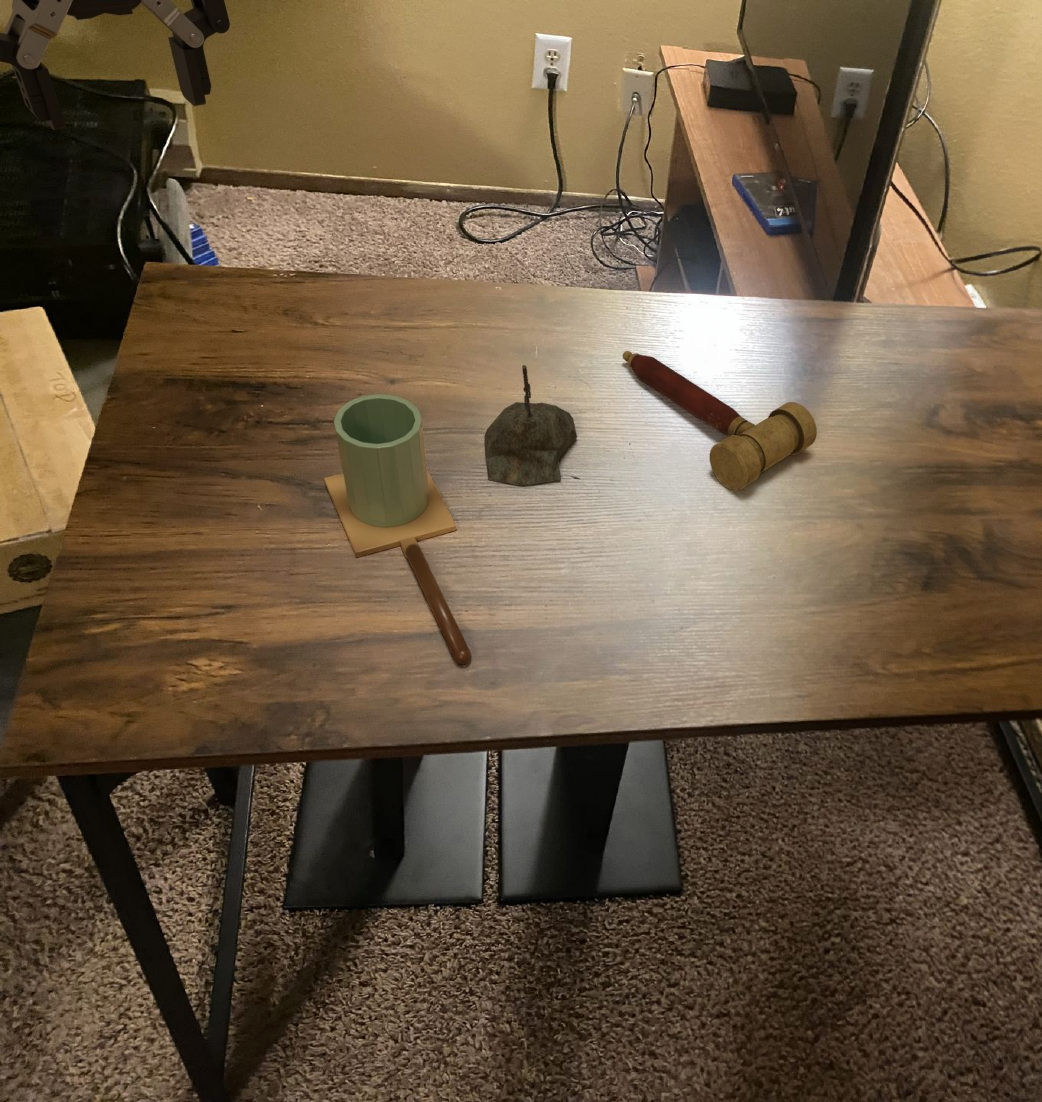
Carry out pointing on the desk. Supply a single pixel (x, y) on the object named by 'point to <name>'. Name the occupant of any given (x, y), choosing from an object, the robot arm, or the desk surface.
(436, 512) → the spatula
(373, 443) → the pot
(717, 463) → the gavel
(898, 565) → the desk surface
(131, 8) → the robot arm
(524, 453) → the sword in stone
